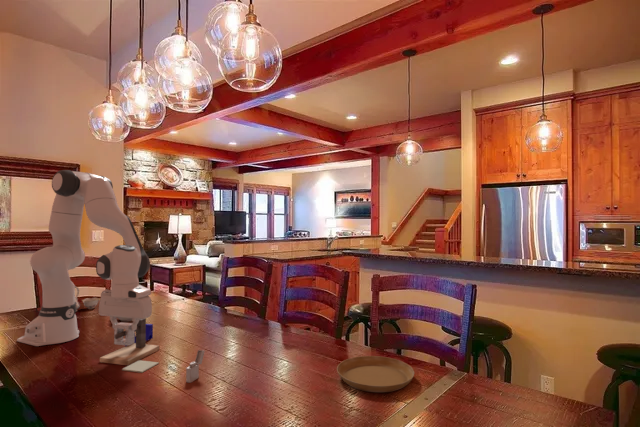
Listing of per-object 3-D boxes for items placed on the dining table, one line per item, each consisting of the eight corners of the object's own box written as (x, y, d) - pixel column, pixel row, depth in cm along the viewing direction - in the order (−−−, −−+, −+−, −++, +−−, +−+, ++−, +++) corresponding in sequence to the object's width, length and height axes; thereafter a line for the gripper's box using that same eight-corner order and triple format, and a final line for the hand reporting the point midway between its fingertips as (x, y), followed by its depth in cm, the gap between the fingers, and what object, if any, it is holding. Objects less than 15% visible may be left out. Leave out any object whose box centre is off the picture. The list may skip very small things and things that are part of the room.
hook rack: (99, 361, 130) (100, 327, 131) (133, 346, 146) (133, 316, 146) (128, 365, 127) (128, 330, 128) (159, 349, 143) (159, 318, 143)
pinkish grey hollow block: (114, 344, 133) (114, 324, 133) (120, 341, 136) (120, 322, 136) (128, 345, 132) (128, 325, 132) (134, 342, 134) (134, 323, 135)
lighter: (190, 382, 114) (190, 356, 114) (185, 382, 114) (186, 356, 115) (204, 373, 121) (204, 349, 121) (200, 373, 121) (200, 348, 121)
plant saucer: (336, 364, 130) (336, 354, 130) (405, 365, 129) (405, 355, 129) (337, 397, 106) (337, 385, 106) (422, 398, 105) (422, 386, 105)
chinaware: (69, 322, 186) (72, 289, 187) (36, 318, 187) (40, 285, 187) (103, 309, 214) (106, 280, 215) (75, 305, 215) (78, 277, 215)
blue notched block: (143, 337, 158) (143, 323, 158) (152, 338, 157) (152, 324, 157) (122, 346, 146) (122, 331, 146) (131, 348, 145) (131, 332, 145)
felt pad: (121, 370, 123) (121, 369, 123) (139, 361, 131) (139, 360, 131) (142, 372, 121) (142, 371, 121) (158, 363, 129) (158, 362, 129)
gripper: (94, 290, 134) (93, 329, 133) (142, 293, 128) (142, 334, 128) (108, 287, 140) (107, 324, 139) (154, 290, 135) (154, 328, 134)
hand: (124, 329), depth 134 cm, fingers closed on pinkish grey hollow block, 6 cm apart
